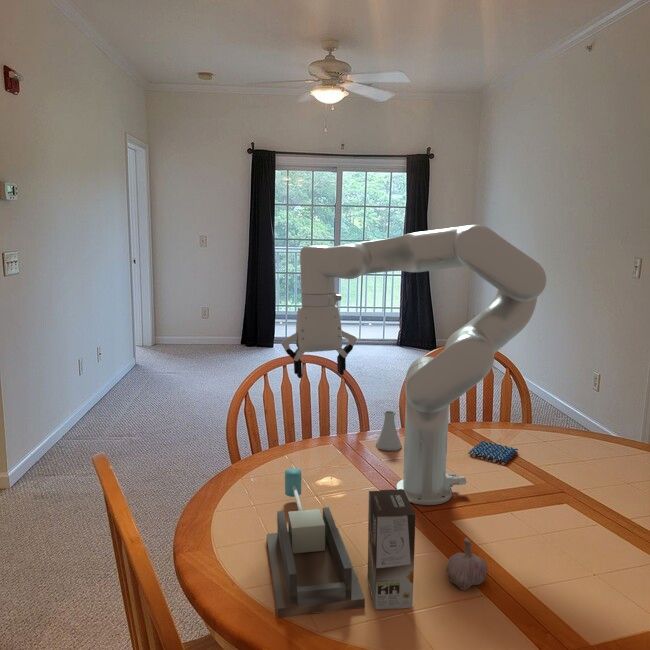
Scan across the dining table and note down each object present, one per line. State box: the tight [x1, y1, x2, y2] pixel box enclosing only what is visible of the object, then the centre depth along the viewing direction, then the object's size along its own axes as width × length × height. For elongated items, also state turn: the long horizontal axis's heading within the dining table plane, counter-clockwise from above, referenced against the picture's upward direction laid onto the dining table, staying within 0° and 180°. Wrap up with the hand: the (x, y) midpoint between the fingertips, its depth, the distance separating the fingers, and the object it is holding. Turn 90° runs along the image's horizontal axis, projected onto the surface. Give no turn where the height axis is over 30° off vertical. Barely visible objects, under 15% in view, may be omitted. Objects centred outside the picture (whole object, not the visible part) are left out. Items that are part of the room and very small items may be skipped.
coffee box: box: [366, 488, 417, 610], centre depth 93 cm, size 9×6×16 cm
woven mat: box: [467, 440, 519, 466], centre depth 151 cm, size 10×11×2 cm
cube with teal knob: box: [284, 467, 325, 554], centre depth 114 cm, size 6×25×5 cm, turn 10°
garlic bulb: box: [446, 537, 488, 591], centre depth 96 cm, size 8×7×8 cm
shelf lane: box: [266, 506, 366, 618], centre depth 99 cm, size 14×22×6 cm, turn 10°
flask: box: [375, 410, 403, 452], centre depth 155 cm, size 7×7×10 cm
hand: (320, 375), depth 128 cm, fingers open, 9 cm apart
